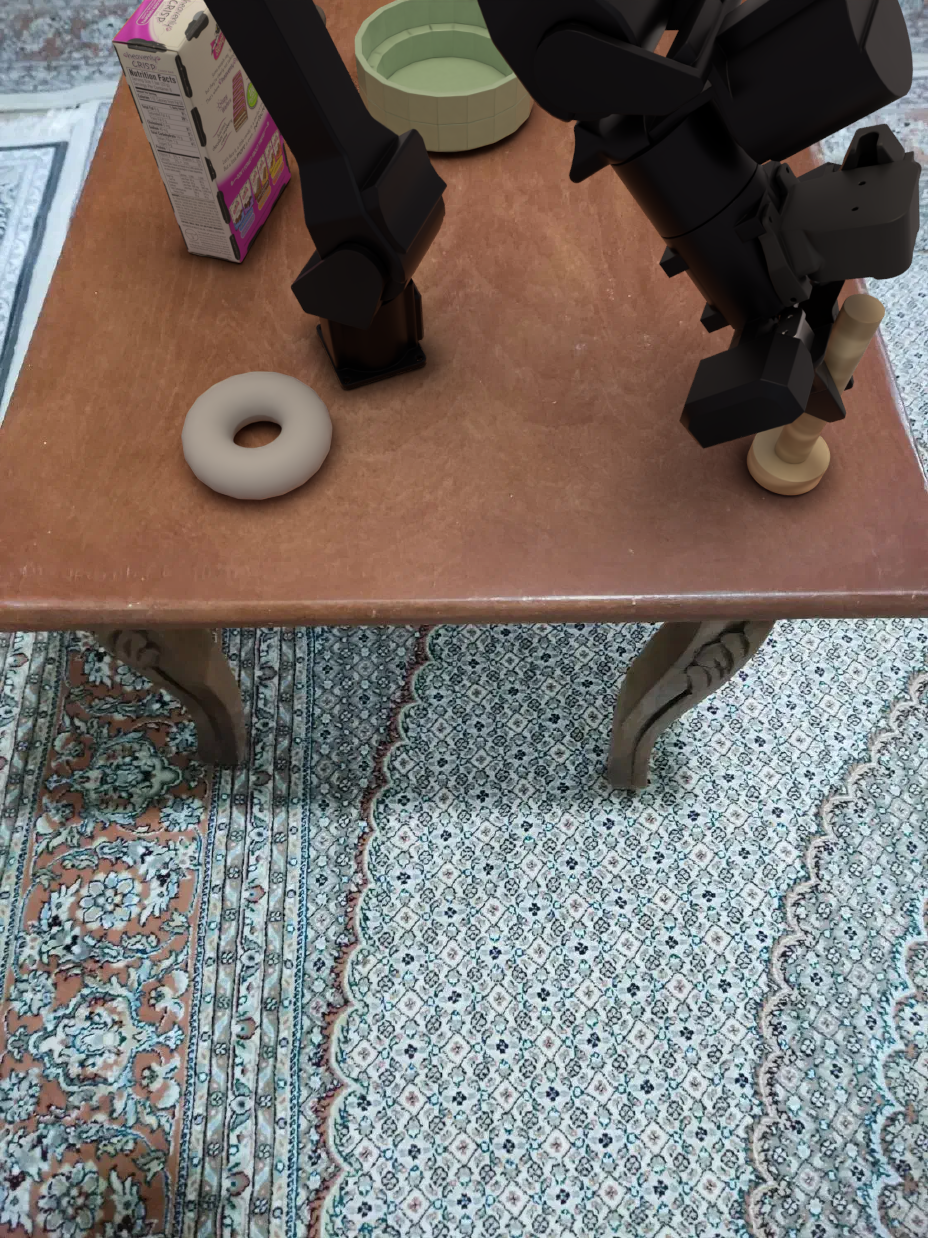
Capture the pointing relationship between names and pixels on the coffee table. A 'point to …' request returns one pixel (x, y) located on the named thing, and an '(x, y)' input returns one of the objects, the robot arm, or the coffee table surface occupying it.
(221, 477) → the donut
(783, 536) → the coffee table surface
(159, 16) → the candy bar box
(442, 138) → the bowl
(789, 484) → the post
